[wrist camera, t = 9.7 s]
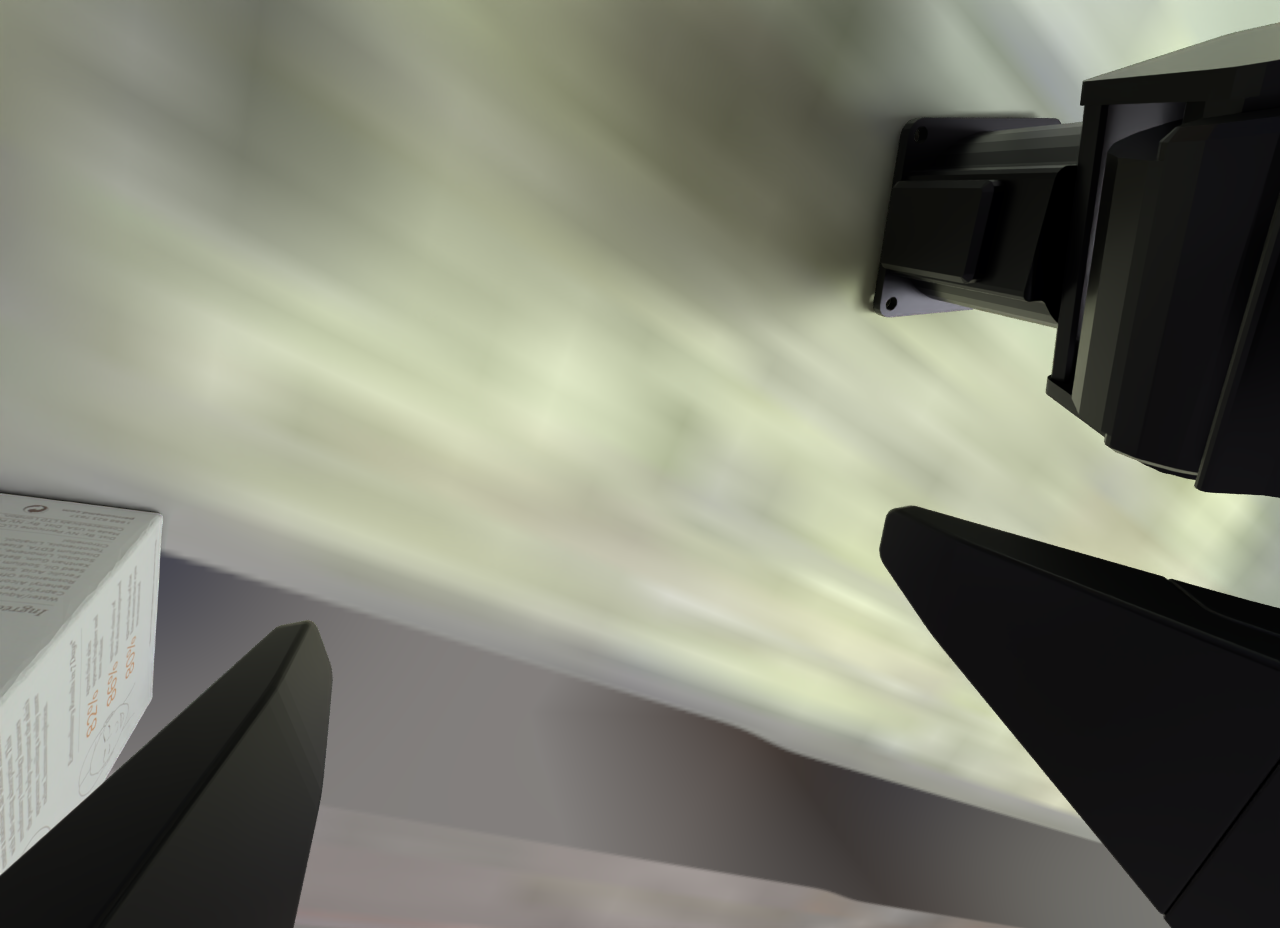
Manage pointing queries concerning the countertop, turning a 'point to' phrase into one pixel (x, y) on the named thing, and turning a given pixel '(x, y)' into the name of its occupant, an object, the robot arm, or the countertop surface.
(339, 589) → the countertop surface
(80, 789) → the small box
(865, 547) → the countertop surface
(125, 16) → the countertop surface
